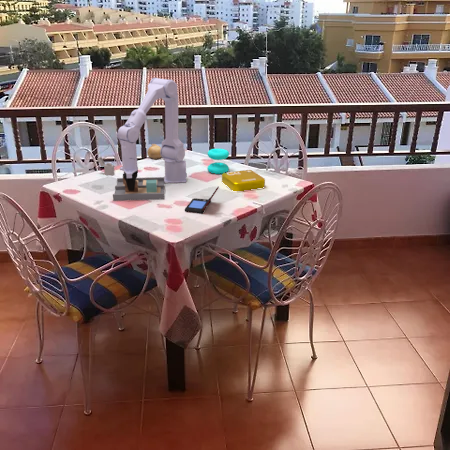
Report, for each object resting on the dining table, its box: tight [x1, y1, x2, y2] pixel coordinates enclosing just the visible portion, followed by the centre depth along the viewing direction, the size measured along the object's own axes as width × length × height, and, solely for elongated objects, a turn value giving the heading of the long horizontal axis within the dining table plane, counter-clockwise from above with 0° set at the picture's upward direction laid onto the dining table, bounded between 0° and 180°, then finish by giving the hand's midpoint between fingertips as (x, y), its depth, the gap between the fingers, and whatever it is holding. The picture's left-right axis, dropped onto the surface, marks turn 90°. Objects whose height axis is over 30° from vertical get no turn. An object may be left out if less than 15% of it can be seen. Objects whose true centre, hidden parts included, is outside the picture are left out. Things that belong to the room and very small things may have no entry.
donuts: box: [206, 148, 230, 175], centre depth 222 cm, size 10×10×10 cm
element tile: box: [221, 169, 266, 192], centre depth 207 cm, size 15×15×5 cm
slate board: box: [112, 176, 165, 202], centre depth 198 cm, size 20×20×2 cm
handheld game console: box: [184, 186, 220, 215], centre depth 182 cm, size 12×11×7 cm
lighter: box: [97, 156, 116, 176], centre depth 215 cm, size 7×2×8 cm, turn 77°
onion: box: [146, 143, 163, 160], centre depth 240 cm, size 8×8×7 cm
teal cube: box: [146, 180, 157, 193], centre depth 193 cm, size 4×4×4 cm
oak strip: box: [125, 181, 161, 194], centre depth 193 cm, size 14×8×5 cm, turn 97°
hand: (131, 189), depth 192 cm, fingers closed on oak strip, 2 cm apart
